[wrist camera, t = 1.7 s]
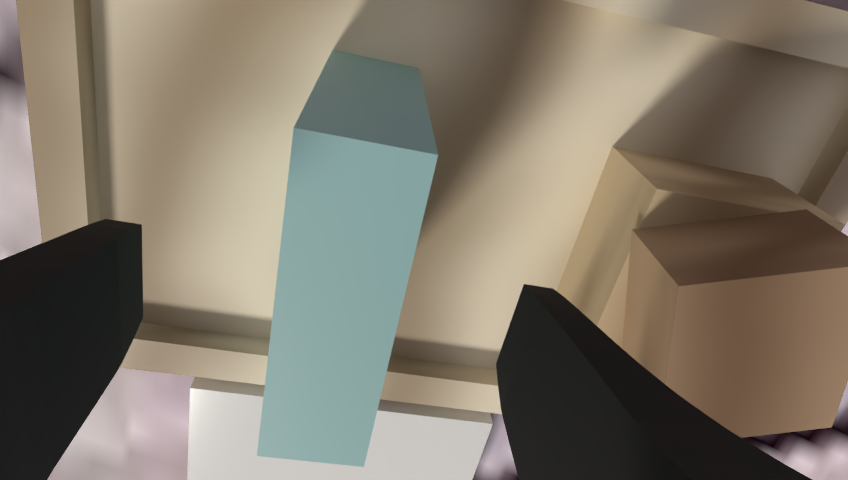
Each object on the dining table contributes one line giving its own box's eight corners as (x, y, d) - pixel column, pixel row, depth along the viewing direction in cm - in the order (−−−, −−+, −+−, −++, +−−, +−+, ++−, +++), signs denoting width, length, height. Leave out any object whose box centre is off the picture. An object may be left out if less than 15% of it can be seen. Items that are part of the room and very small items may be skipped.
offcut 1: (771, 178, 16) (845, 224, 14) (697, 316, 19) (748, 379, 16) (611, 146, 16) (656, 189, 13) (555, 294, 18) (583, 356, 15)
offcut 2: (806, 209, 14) (887, 262, 11) (769, 358, 16) (832, 427, 14) (631, 229, 14) (678, 286, 11) (619, 375, 16) (656, 447, 14)
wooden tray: (896, 28, 16) (960, 39, 14) (685, 399, 22) (710, 439, 20) (48, -187, 13) (-7, -207, 11) (86, 320, 19) (55, 359, 17)
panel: (418, 67, 14) (437, 154, 9) (372, 294, 18) (363, 467, 12) (332, 49, 14) (293, 127, 8) (300, 283, 17) (256, 456, 12)
